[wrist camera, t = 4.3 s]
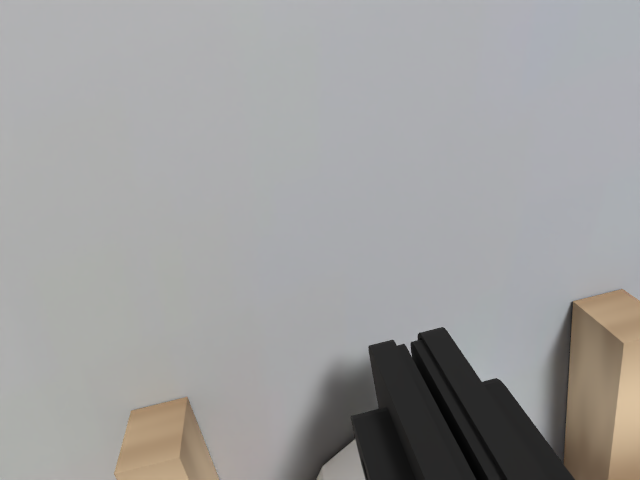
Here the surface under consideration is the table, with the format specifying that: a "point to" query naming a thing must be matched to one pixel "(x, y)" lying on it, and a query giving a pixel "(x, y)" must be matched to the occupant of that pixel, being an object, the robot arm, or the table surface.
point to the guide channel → (581, 419)
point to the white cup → (343, 465)
